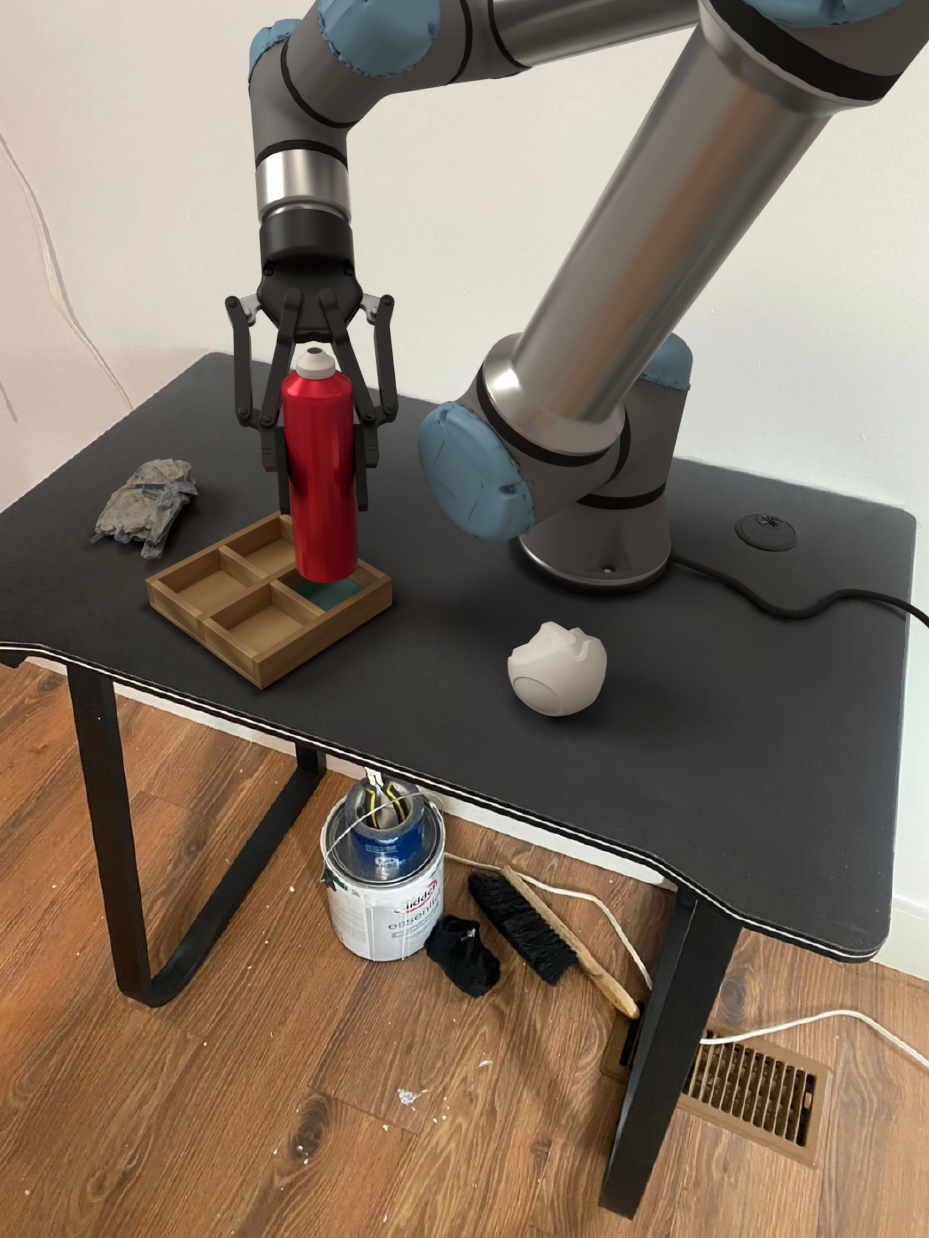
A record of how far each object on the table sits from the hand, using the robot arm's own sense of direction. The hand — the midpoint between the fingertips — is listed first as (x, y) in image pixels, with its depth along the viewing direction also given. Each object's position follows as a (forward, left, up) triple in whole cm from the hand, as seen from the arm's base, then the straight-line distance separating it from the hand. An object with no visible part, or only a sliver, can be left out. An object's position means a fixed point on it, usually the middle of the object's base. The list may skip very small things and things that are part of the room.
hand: (324, 509), depth 73 cm
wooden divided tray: (+6, +1, -13) cm, 15 cm away
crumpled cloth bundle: (+25, +1, -13) cm, 28 cm away
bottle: (+3, -2, -9) cm, 9 cm away
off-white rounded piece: (-20, -7, -13) cm, 25 cm away
